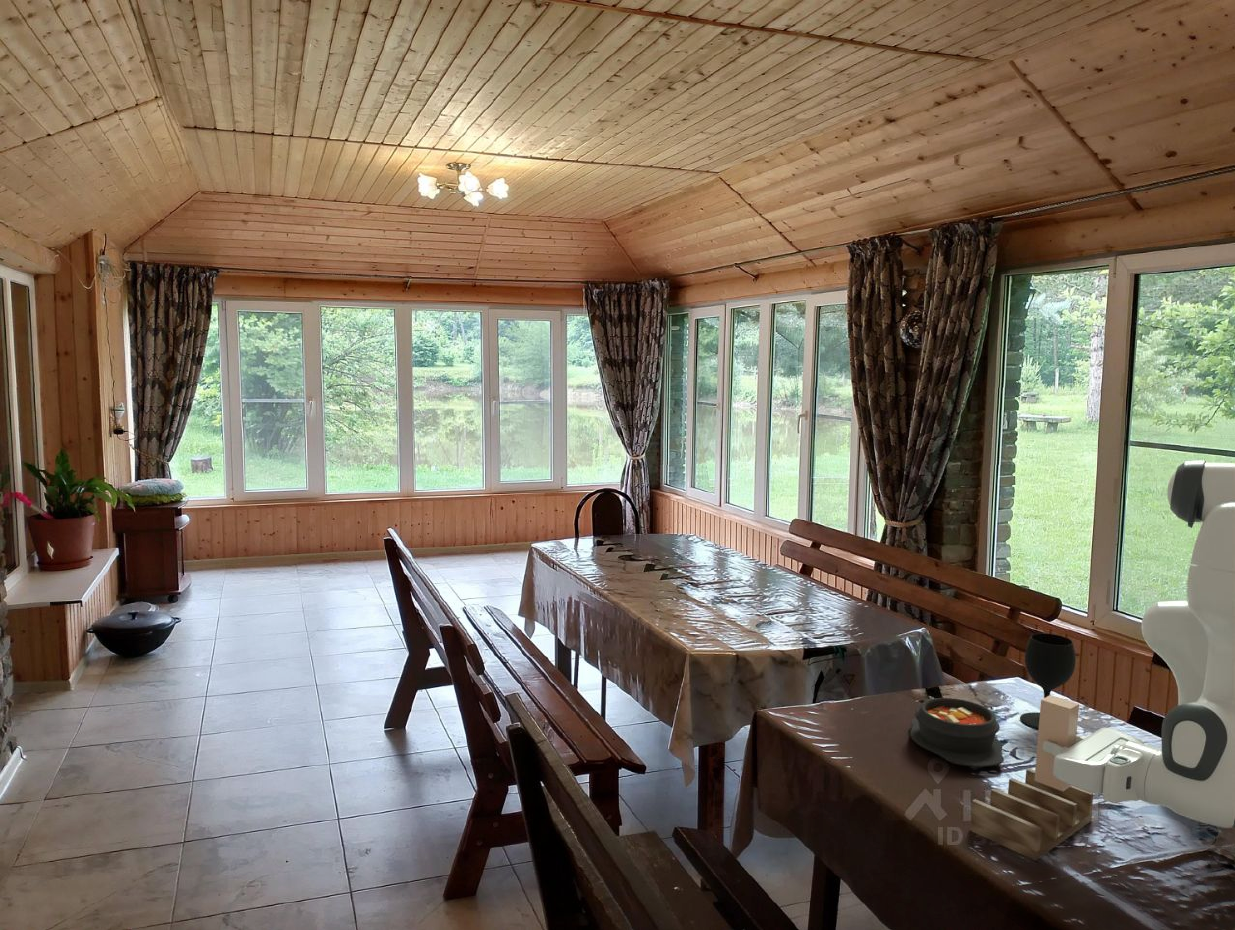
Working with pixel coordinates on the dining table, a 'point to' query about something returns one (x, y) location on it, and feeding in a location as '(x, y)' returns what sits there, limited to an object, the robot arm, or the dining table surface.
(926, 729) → the casserole
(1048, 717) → the beige rectangular block
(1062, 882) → the dining table surface
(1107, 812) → the dining table surface
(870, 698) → the dining table surface
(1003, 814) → the drying rack
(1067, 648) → the wine glass
